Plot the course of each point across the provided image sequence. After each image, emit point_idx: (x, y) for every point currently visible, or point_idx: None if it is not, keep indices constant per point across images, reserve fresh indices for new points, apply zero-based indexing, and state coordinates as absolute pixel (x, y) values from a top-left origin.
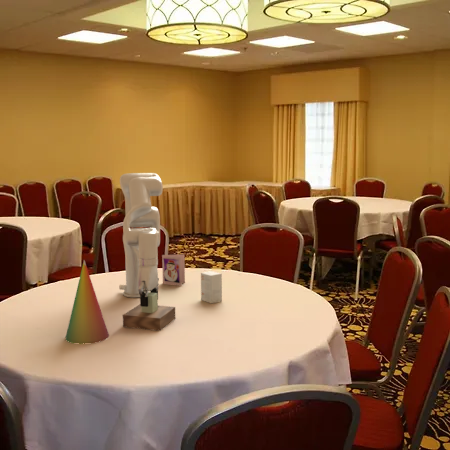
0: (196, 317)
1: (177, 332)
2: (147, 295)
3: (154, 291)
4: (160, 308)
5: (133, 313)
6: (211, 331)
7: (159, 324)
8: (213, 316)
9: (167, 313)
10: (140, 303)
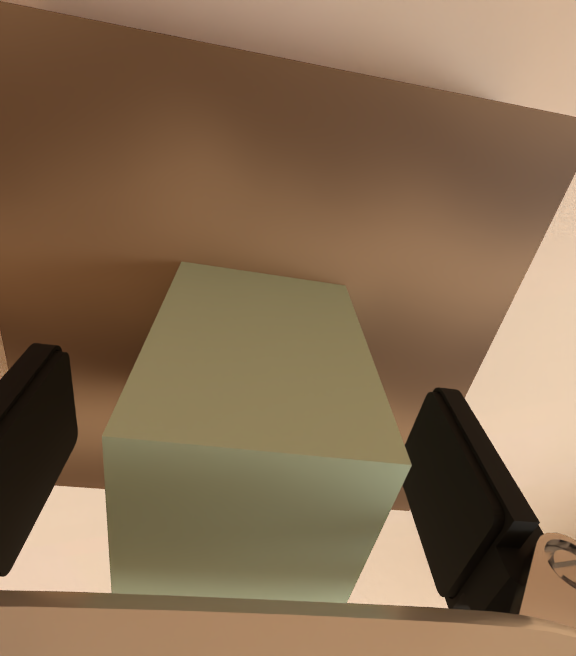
0: (407, 522)
1: (90, 493)
2: (134, 542)
3: (457, 565)
4: None
5: (84, 168)
6: None
7: None
8: (422, 578)
9: None
10: (12, 368)
